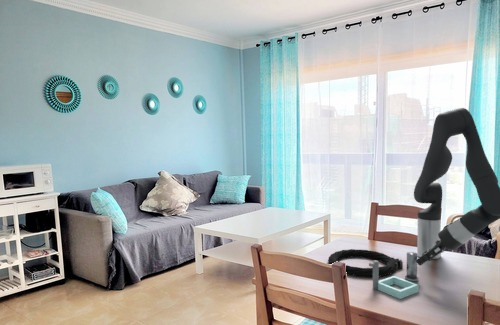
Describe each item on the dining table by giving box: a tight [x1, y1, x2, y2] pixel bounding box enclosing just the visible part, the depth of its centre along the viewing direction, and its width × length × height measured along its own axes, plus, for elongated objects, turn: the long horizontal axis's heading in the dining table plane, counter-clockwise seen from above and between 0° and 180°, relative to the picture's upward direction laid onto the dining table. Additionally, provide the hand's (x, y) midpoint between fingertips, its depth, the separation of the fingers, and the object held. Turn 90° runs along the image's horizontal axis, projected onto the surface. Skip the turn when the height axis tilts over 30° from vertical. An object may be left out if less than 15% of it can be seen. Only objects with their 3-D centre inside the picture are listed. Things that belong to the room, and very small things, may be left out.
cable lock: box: [327, 248, 404, 278], centre depth 152 cm, size 28×4×30 cm
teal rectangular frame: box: [368, 259, 419, 300], centre depth 127 cm, size 13×11×10 cm
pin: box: [404, 251, 419, 283], centre depth 136 cm, size 5×5×10 cm
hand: (420, 260), depth 134 cm, fingers open, 8 cm apart
